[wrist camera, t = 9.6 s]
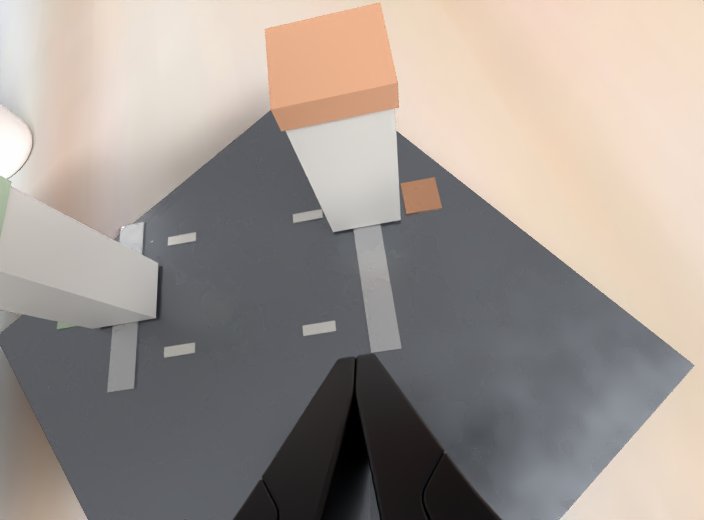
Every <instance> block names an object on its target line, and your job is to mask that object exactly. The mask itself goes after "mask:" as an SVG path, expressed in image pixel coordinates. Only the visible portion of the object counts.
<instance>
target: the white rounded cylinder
mask: <svg viewBox="0 0 704 520" xmlns="http://www.w3.org/2000/svg"><path fill="white" fill-rule="evenodd" d="M31 148H32V134H31V131H30V129H29V127H28V126H27V124H26V123H25V122H24V121H23V120H22V119H20V118H19V117H18V116H16V115H15V114H13V113H12V112H11V111H9V110H8V109H6V108H5V107H4V106H2V105H1V104H0V176H2V177H4V178H6V179H8V178H9V177H11V176H12V175H13V174H15V173H16V172H17V171H18V170H19V169H20V168H21V167H22V166H23V164H24V163H25V162H26V160H27V158H28V156H29V154H30V152H31Z"/></svg>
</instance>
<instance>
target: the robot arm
mask: <svg viewBox="0 0 704 520" xmlns="http://www.w3.org/2000/svg"><path fill="white" fill-rule="evenodd" d="M371 477H372V482H373V487H374V492H375V497H376V502H377V507H378V512H379V517H380V520H502V519H501V518H500V517H499V515H498V514H497V513H496V512H495V511H494V510H493V509H492V508H491V507H490V505H489V504H488V503H487V502H486V501H485V500H484V499H483V498H482V496H481V495H480V494H479V493H478V492H477V491H476V490H475V488H474V487H473V486H472V484H471V483H470V482H469V481H468V479H467V478H466V477H465V476H464V474H463V473H462V472H461V471H460V469H459V468H458V467H457V465H456V464H455V463H454V461H453V460H452V458H451V457H450V456H449V454H448V453H446V451H445V449H444V448H443V446H442V445H441V444H440V442H439V441H438V440H437V438H436V437H435V436H434V434H433V433H432V431H431V430H430V429H429V427H428V426H427V425H426V423H425V422H424V421H423V419H422V418H421V416H420V415H419V414H418V412H417V411H416V410H415V408H414V407H413V406H412V404H411V403H410V401H409V400H408V399H407V397H406V396H405V395H404V393H403V392H402V391H401V389H400V388H399V386H398V385H397V384H396V382H395V381H394V380H393V378H392V377H391V376H390V374H389V373H388V371H387V370H386V369H385V367H384V366H383V365H382V363H381V362H380V360H379V359H378V358H377V356H376V355H375V354H374V353H369V354H363V355H358V356H357V358H355V357H354V356H351V357H345V358H340V359H338V360H337V361H336V362H335V364H334V366H333V367H332V369H331V370H330V372H329V373H328V375H327V376H326V378H325V379H324V381H323V383H322V384H321V386H320V387H319V389H318V390H317V392H316V393H315V395H314V396H313V398H312V399H311V401H310V403H309V404H308V406H307V407H306V409H305V410H304V412H303V413H302V415H301V416H300V418H299V420H298V421H297V423H296V424H295V426H294V427H293V429H292V430H291V432H290V433H289V435H288V437H287V438H286V440H285V441H284V443H283V444H282V446H281V447H280V449H279V450H278V452H277V453H276V455H275V457H274V458H273V460H272V461H271V463H270V464H269V466H268V467H267V469H266V470H265V472H264V474H263V475H262V480H259V481H258V482H257V484H256V486H255V487H254V489H253V490H252V492H251V493H250V495H249V496H248V498H247V499H246V501H245V502H244V504H243V505H242V507H241V508H240V510H239V511H238V512H237V514H236V515H235V517H234V518H233V520H370V479H371Z"/></svg>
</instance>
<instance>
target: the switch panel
mask: <svg viewBox="0 0 704 520" xmlns="http://www.w3.org/2000/svg"><path fill="white" fill-rule="evenodd" d="M396 136H397V156H398V176H399V195H400V215H401V220H398V221H392V222H387V223H381V224H376V225H370V226H364V227H359V228H353V229H348V230H342V231H337V232H333V231H332V229H331V227H330V224H329V222H328V220H327V218H326V216H325V214H324V212H323V210H322V207H321V205H320V203H319V201H318V199H317V197H316V195H315V193H314V190H313V188H312V186H311V184H310V182H309V180H308V178H307V176H306V173H305V171H304V169H303V167H302V165H301V163H300V161H299V159H298V156H297V154H296V152H295V150H294V148H293V146H292V144H291V142H290V139H289V137H288V135H287V133H286V131H282V132H281V130H280V128H279V126H278V124H277V122H276V120H275V117H274V115H273V113H272V111H270V112H268V113H267V114H266V115H265V116H263V117H262V118H261V119H260V120H259V121H257V122H256V123H255V124H254V125H253V126H251V127H250V128H249V129H248V130H247V131H245V132H244V133H243V134H242V135H240V136H239V137H238V138H237V139H236V140H234V141H233V142H232V143H231V144H230V145H228V146H227V147H226V148H225V149H223V150H222V151H221V152H220V153H219V154H217V155H216V156H215V157H214V158H213V159H211V160H210V161H209V162H208V163H207V164H205V165H204V166H203V167H202V168H200V169H199V170H198V171H197V172H196V173H194V174H193V175H192V176H191V177H190V178H188V179H187V180H186V181H185V182H183V183H182V184H181V185H180V186H179V187H177V188H176V189H175V190H174V191H173V192H171V193H170V194H169V195H168V196H167V197H165V198H164V199H163V200H162V201H160V202H159V203H158V204H157V205H156V206H154V207H153V208H152V209H151V210H150V211H148V212H147V213H146V214H145V215H144V216H142V217H141V218H140V219H139V220H137V221H136V222H135V223H134V224H130V225H124V226H121V230H120V235H119V236H118V237H117V238H116V239H114V240H115V241H117V242H119V243H121V244H123V245H125V246H126V247H128V248H130V249H132V250H134V251H136V252H138V253H140V254H142V255H144V256H146V257H148V258H149V259H151V260H153V261H155V262H157V263H158V283H157V305H156V318H154V319H148V320H142V321H136V322H130V323H124V324H118V325H112V326H106V327H100V328H94V329H91V328H86V327H82V326H77V325H72V324H67V323H62V322H57V321H53V320H48V319H43V318H38V317H33V316H28V315H22V316H21V317H20V318H19V319H17V320H16V321H15V322H14V323H13V324H11V325H10V326H9V327H8V328H7V329H5V330H4V331H3V332H2V333H1V334H0V345H1V347H2V349H3V351H4V353H5V355H6V357H7V359H8V361H9V363H10V365H11V367H12V369H13V371H14V373H15V375H16V377H17V379H18V381H19V383H20V385H21V387H22V389H23V391H24V393H25V395H26V397H27V399H28V401H29V403H30V405H31V407H32V409H33V411H34V413H35V415H36V417H37V419H38V421H39V423H40V425H41V427H42V429H43V431H44V433H45V435H46V437H47V439H48V441H49V443H50V445H51V447H52V449H53V451H54V453H55V455H56V457H57V459H58V461H59V463H60V465H61V467H62V469H63V471H64V473H65V475H66V477H67V479H68V481H69V483H70V485H71V487H72V489H73V491H74V493H75V495H76V497H77V499H78V501H79V503H80V505H81V507H82V509H83V511H84V513H85V515H86V517H87V519H88V520H233V518H234V517H235V515H236V514H237V512H238V511H239V510H240V508H241V507H242V505H243V504H244V502H245V501H246V499H247V498H248V496H249V495H250V493H251V492H252V490H253V489H254V487H255V486H256V484H257V482H258V481H259V480H262V475H263V474H264V472H265V470H266V469H267V467H268V466H269V464H270V463H271V461H272V460H273V458H274V457H275V455H276V453H277V452H278V450H279V449H280V447H281V446H282V444H283V443H284V441H285V440H286V438H287V437H288V435H289V433H290V432H291V430H292V429H293V427H294V426H295V424H296V423H297V421H298V420H299V418H300V416H301V415H302V413H303V412H304V410H305V409H306V407H307V406H308V404H309V403H310V401H311V399H312V398H313V396H314V395H315V393H316V392H317V390H318V389H319V387H320V386H321V384H322V383H323V381H324V379H325V378H326V376H327V375H328V373H329V372H330V370H331V369H332V367H333V366H334V364H335V362H336V361H337V360H338V359H340V358H345V357H351V356H354V357H355V358H357V356H358V355H363V354H369V353H374V354H375V355H376V356H377V358H378V359H379V360H380V362H381V363H382V365H383V366H384V367H385V369H386V370H387V371H388V373H389V374H390V376H391V377H392V378H393V380H394V381H395V382H396V384H397V385H398V386H399V388H400V389H401V391H402V392H403V393H404V395H405V396H406V397H407V399H408V400H409V401H410V403H411V404H412V406H413V407H414V408H415V410H416V411H417V412H418V414H419V415H420V416H421V418H422V419H423V421H424V422H425V423H426V425H427V426H428V427H429V429H430V430H431V431H432V433H433V434H434V436H435V437H436V438H437V440H438V441H439V442H440V444H441V445H442V446H443V448H444V449H445V451H446V453H448V454H449V456H450V457H451V458H452V460H453V461H454V463H455V464H456V465H457V467H458V468H459V469H460V471H461V472H462V473H463V474H464V476H465V477H466V478H467V479H468V481H469V482H470V483H471V484H472V486H473V487H474V488H475V490H476V491H477V492H478V493H479V494H480V495H481V496H482V498H483V499H484V500H485V501H486V502H487V503H488V504H489V505H490V507H491V508H492V509H493V510H494V511H495V512H496V513H497V514H498V515H499V517H500V518H501V519H502V520H559V519H560V518H561V517H562V516H563V515H564V514H565V513H566V511H567V510H568V509H569V508H570V507H571V506H572V505H573V503H574V502H575V501H576V500H577V499H578V498H579V497H580V495H581V494H582V493H583V492H584V491H585V490H586V489H587V487H588V486H589V485H590V484H591V483H592V482H593V481H594V480H595V478H596V477H597V476H598V475H599V474H600V473H601V472H602V470H603V469H604V468H605V467H606V466H607V465H608V464H609V462H610V461H611V460H612V459H613V458H614V457H615V456H616V454H617V453H618V452H619V451H620V450H621V449H622V448H623V446H624V445H625V444H626V443H627V442H628V441H629V440H630V438H631V437H632V436H633V435H634V434H635V433H636V432H637V431H638V429H639V428H640V427H641V426H642V425H643V424H644V423H645V421H646V420H647V419H648V418H649V417H650V416H651V415H652V413H653V412H654V411H655V410H656V409H657V408H658V407H659V405H660V404H661V403H662V402H663V401H664V400H665V399H666V397H667V396H668V395H669V394H670V393H671V392H672V391H673V390H674V388H675V387H676V386H677V385H678V384H679V383H680V382H681V380H682V379H683V378H684V377H685V376H686V375H687V374H688V372H689V371H690V370H691V369H692V368H693V367H694V366H695V365H693V364H692V363H691V362H690V361H688V360H687V359H686V358H685V357H683V356H682V355H681V354H679V353H678V352H677V351H676V350H674V349H673V348H672V347H671V346H669V345H668V344H667V343H665V342H664V341H663V340H662V339H660V338H659V337H658V336H657V335H655V334H654V333H653V332H651V331H650V330H649V329H648V328H646V327H645V326H644V325H643V324H641V323H640V322H639V321H637V320H636V319H635V318H634V317H632V316H631V315H630V314H629V313H627V312H626V311H625V310H623V309H622V308H621V307H620V306H618V305H617V304H616V303H615V302H613V301H612V300H611V299H609V298H608V297H607V296H606V295H604V294H603V293H602V292H601V291H599V290H598V289H597V288H595V287H594V286H593V285H592V284H590V283H589V282H588V281H587V280H585V279H584V278H583V277H582V276H580V275H579V274H578V273H576V272H575V271H574V270H573V269H571V268H570V267H569V266H568V265H566V264H565V263H564V262H562V261H561V260H560V259H559V258H557V257H556V256H555V255H554V254H552V253H551V252H550V251H548V250H547V249H546V248H545V247H543V246H542V245H541V244H540V243H538V242H537V241H536V240H534V239H533V238H532V237H531V236H529V235H528V234H527V233H526V232H524V231H523V230H522V229H520V228H519V227H518V226H517V225H515V224H514V223H513V222H512V221H510V220H509V219H508V218H506V217H505V216H504V215H503V214H501V213H500V212H499V211H498V210H496V209H495V208H494V207H492V206H491V205H490V204H489V203H487V202H486V201H485V200H484V199H482V198H481V197H480V196H478V195H477V194H476V193H475V192H473V191H472V190H471V189H470V188H468V187H467V186H466V185H464V184H463V183H462V182H461V181H459V180H458V179H457V178H456V177H454V176H453V175H452V174H450V173H449V172H448V171H447V170H445V169H444V168H443V167H442V166H440V165H439V164H438V163H436V162H435V161H434V160H433V159H431V158H430V157H429V156H428V155H426V154H425V153H424V152H422V151H421V150H420V149H419V148H417V147H416V146H415V145H414V144H412V143H411V142H410V141H408V140H407V139H406V138H405V137H403V136H402V135H401V134H400V133H398V132H397V131H396ZM370 520H380V517H379V512H378V507H377V502H376V497H375V492H374V487H373V482H372V477H371V479H370Z"/></svg>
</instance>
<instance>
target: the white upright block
mask: <svg viewBox="0 0 704 520" xmlns="http://www.w3.org/2000/svg"><path fill="white" fill-rule="evenodd" d="M157 283H158V263H157V262H155V261H153V260H151V259H149V258H148V257H146V256H144V255H142V254H140V253H138V252H136V251H134V250H132V249H130V248H128V247H126V246H125V245H123V244H121V243H119V242H117V241H115V240H113V239H111V238H109V237H107V236H105V235H104V234H102V233H100V232H98V231H96V230H94V229H92V228H90V227H88V226H86V225H84V224H83V223H81V222H79V221H77V220H75V219H73V218H71V217H69V216H67V215H65V214H63V213H61V212H60V211H58V210H56V209H54V208H52V207H50V206H48V205H46V204H44V203H42V202H40V201H39V200H37V199H35V198H33V197H31V196H29V195H27V194H25V193H23V192H21V191H19V190H17V189H16V188H14V187H12V186H11V181H10V180H8V179H6V178H4V177H2V176H0V310H4V311H9V312H14V313H19V314H24V315H28V316H33V317H38V318H43V319H48V320H53V321H57V322H62V323H67V324H72V325H77V326H82V327H86V328H91V329H94V328H100V327H106V326H112V325H118V324H124V323H130V322H136V321H142V320H148V319H154V318H156V305H157Z"/></svg>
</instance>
